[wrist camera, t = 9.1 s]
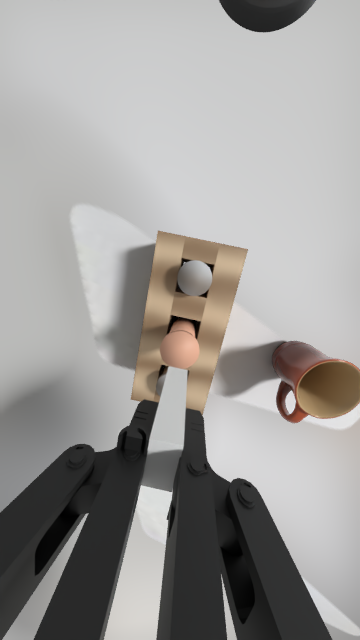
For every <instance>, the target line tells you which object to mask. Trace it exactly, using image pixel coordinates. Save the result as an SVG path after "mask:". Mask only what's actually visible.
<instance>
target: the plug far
mask: <svg viewBox="0 0 360 640" xmlns="http://www.w3.org/2000/svg"><path fill="white" fill-rule="evenodd" d="M168 367H169V366H166V365H165V367H164V370H163V374H162V375H161V376H160V377H159V378H158V381H157V384H156V391H157V393H158V395H159V396H160V397H161V393H162V390H163V386H164V382H165V378H166V374H167V371H168Z"/></svg>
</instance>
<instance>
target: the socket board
mask: <svg viewBox="0 0 360 640" xmlns="http://www.w3.org/2000/svg"><path fill="white" fill-rule="evenodd" d="M247 251H248V249H244V248H239V247H234V246H229V245H225V244H220V243H215V242H210V241H205V240H200V239H195V238H191V237H186V236H181V235H175V234H171V233H166V232H161V231H158V234H157V240H156V246H155V252H154V259H153V265H152V271H151V277H150V283H149V290H148V296H147V302H146V308H145V314H144V321H143V327H142V333H141V339H140V345H139V352H138V358H137V364H136V370H135V377H134V383H133V389H132V395H131V399H132V400H136V401H143V400H144V399H146V400H150V401H155V402H159V401H160V396H159V395H158V393H157V391H156V384H157V381H158V378H159V377H160V376H161V375H162V374H163V370H164V369H162V368H163V365H166V366H168V365H167V364H166V363H165V362H164V361H163V359H162V357H161V354H160V346H161V343H162V341H163V339H164V337H165V336H166V335H167V334H169V333H170V328H171V323H172V318H173V315H174V316H178V317H183V318H188V319H192V320H197V326H196V330H195V338H196V339H197V341H198V344H199V357H198V359H197V361H196V362H195V363H194V364H193V365H192V366H190V367H188V368H185V370H188V372H187V392H186V408H189V409H194V410H198V411H200V412H201V414H202V415H203V411H204V408H205V404H206V400H207V396H208V393H209V389H210V386H211V382H212V378H213V375H214V371H215V368H216V364H217V360H218V357H219V353H220V349H221V346H222V342H223V338H224V335H225V331H226V328H227V324H228V320H229V317H230V313H231V309H232V306H233V302H234V298H235V295H236V291H237V288H238V284H239V280H240V277H241V272H242V269H243V266H244V262H245V258H246V254H247ZM193 260H197V261H201V262H203V263H205V264H206V265H207V266H208V267H210V270H211V273H212V283H211V286H210V288H209V289H208V290H207V291H206V292H205V293H204V294H202V295H199V296H190V295H187V294H186V293H184V292H183V291H182V290H181V289H178V288H179V285H178V281H177V276H178V272H179V270H180V268H181V267H182V266H183V263H184V262H189V261H193Z"/></svg>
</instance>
